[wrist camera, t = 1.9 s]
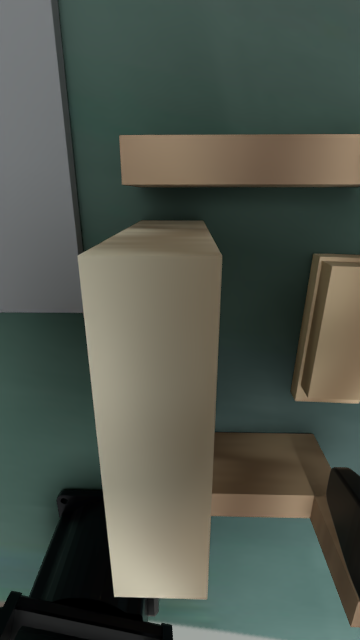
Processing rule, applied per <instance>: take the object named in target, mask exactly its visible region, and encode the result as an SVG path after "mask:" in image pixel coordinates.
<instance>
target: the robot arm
mask: <svg viewBox="0 0 360 640" xmlns="http://www.w3.org/2000/svg"><path fill="white" fill-rule="evenodd" d="M326 499H327V503H328V506H329V510H330V513H331V517H332V520H333V523H334V527H335V530H336V533H337V537H338V540H339V544H340V547H341V550H342V554H343V557H344V560H345V563H346V566H347V569H348V572H349V575H350V577H351V580H352V582H353V585H354V587H355V590H356V592H357V595H358V597H359V600H360V476H359V475H358V474H356V473H355V472H354V471H353V470H351V469H349V468H345V467H334V468H332V469H331V471H330V475H329V480H328V485H327V490H326ZM57 505H58V511H59V517H60V519H59V522H58V524H57V527H56V529H55V532H54V534H53V537H52V539H51V542H50V545H49V547H48V550H47V552H46V555H45V557H44V560H43V562H42V565H41V567H40V570H39V572H38V575H37V577H36V580H35V582H34V585H33V587H32V590H31V592H30V595H29V597H28V596H23V595H21V594H22V593H20V592H16V591H11V592H10V594H9V596H8V598H7V600H6V602H5V604H4V606H3V607H0V640H173V635H172V634H173V633H172V625H170V624H165V623H162V624H161V625H159V624H155V623H150V622H148V616H155V615H156V614H157V613H158V611H159V598H138V597H114V589H113V580H112V571H111V562H110V552H109V543H108V534H107V525H106V515H105V506H104V497H103V491H74V490H64V491H61V492H60V493H59V495H58V497H57Z"/></svg>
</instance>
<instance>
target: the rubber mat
mask: <svg viewBox="0 0 360 640" xmlns="http://www.w3.org/2000/svg"><path fill="white" fill-rule="evenodd" d="M81 253H83V246H82V236H81V226H80V216H79V207H78V197H77V187H76V177H75V167H74V158H73V148H72V138H71V128H70V118H69V108H68V99H67V89H66V79H65V69H64V59H63V49H62V40H61V30H60V20H59V10H58V0H0V312H31V313H84V312H83V303H82V293H81V284H80V275H79V266H78V255H79V254H81Z"/></svg>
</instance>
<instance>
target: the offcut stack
mask: <svg viewBox="0 0 360 640" xmlns="http://www.w3.org/2000/svg"><path fill="white" fill-rule="evenodd" d="M291 394H292V396H293V398H294V400H295V401H308V402H333V403H358V404H359V401H360V255H347V254H313V259H312V265H311V271H310V277H309V283H308V289H307V295H306V301H305V307H304V313H303V319H302V325H301V332H300V338H299V344H298V350H297V356H296V362H295V368H294V374H293V380H292V386H291Z"/></svg>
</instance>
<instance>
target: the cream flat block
mask: <svg viewBox="0 0 360 640" xmlns="http://www.w3.org/2000/svg"><path fill="white" fill-rule="evenodd" d="M78 266H79V275H80V284H81V293H82V303H83V312H84V321H85V330H86V340H87V349H88V358H89V367H90V377H91V386H92V395H93V404H94V414H95V423H96V432H97V441H98V451H99V460H100V469H101V478H102V488H103V497H104V506H105V515H106V525H107V534H108V543H109V552H110V562H111V571H112V580H113V589H114V597H138V598H174V599H207V592H208V569H209V547H210V524H211V501H212V479H213V456H214V434H215V411H216V388H217V366H218V343H219V320H220V298H221V275H222V255H221V253H220V251H219V249H218V247H217V245H216V243H215V242H214V240H213V238H212V236H211V234H210V232H209V230H208V229H207V227H206V225H205V223H204V221H203V220H141V221H139V222H138V223H136V224H134V225H132V226H130V227H128V228H127V229H125V230H123V231H121V232H119V233H118V234H116V235H114V236H112V237H110V238H108V239H107V240H105V241H103V242H101V243H99V244H98V245H96V246H94V247H92V248H90V249H89V250H87V251H85V252H83V253H81V254H79V255H78Z"/></svg>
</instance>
